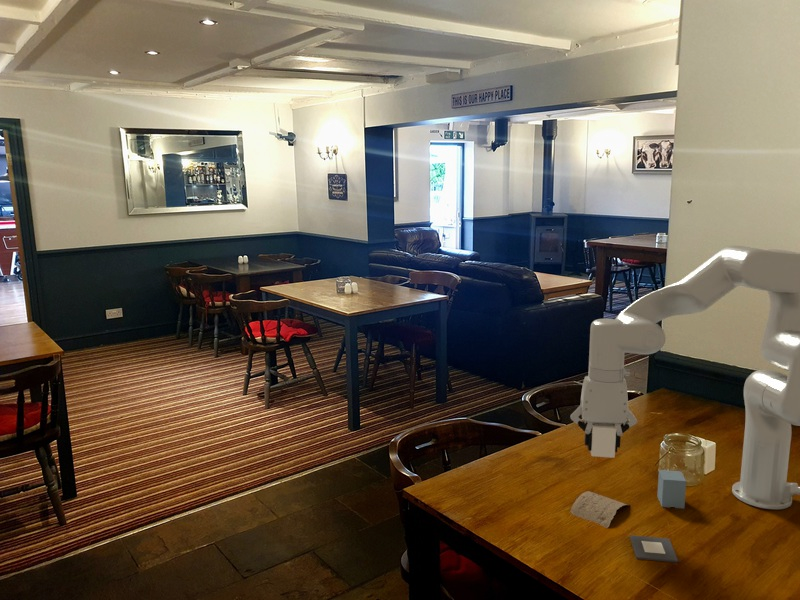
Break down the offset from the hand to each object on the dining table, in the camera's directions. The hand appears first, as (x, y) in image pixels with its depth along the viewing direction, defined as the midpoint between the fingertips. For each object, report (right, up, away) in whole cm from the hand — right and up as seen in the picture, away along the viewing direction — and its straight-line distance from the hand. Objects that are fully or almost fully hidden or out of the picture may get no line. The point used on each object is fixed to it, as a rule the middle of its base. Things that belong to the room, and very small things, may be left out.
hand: (601, 448), depth 143 cm
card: (+6, -18, -13) cm, 23 cm away
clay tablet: (0, -16, +3) cm, 16 cm away
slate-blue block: (+18, -14, +5) cm, 24 cm away
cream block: (0, -1, 0) cm, 1 cm away
